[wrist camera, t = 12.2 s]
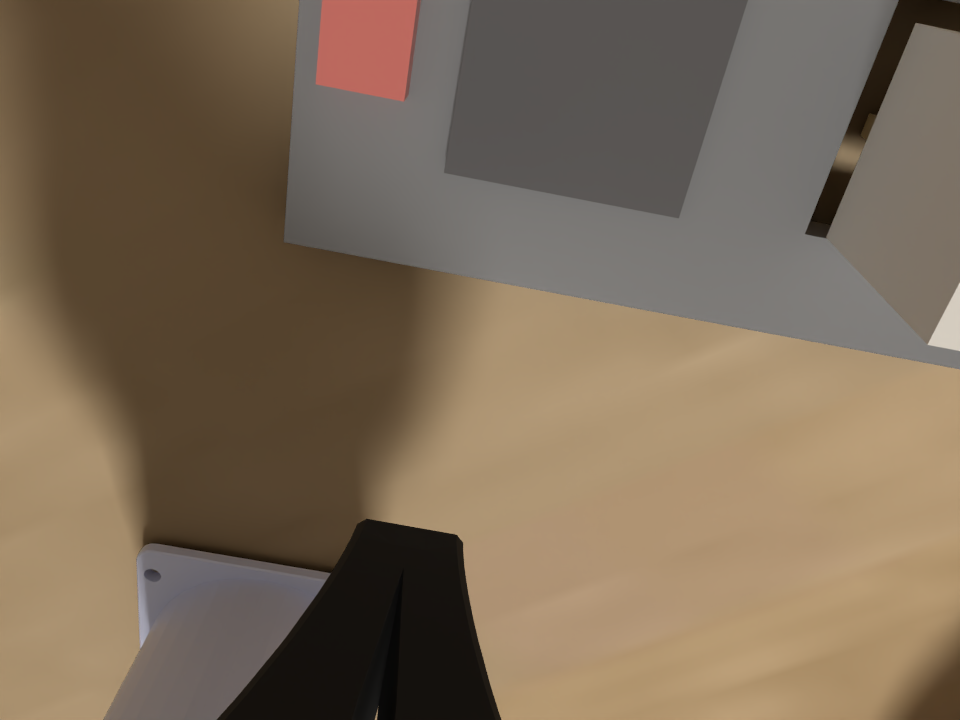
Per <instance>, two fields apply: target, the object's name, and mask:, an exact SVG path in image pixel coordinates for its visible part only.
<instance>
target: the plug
mask: <svg viewBox="0 0 960 720" xmlns="http://www.w3.org/2000/svg"><path fill="white" fill-rule="evenodd" d="M860 136H861V137H863V138H864V139H866V140H867V141H866V143H865V146H864V148H863V150H862V153H861V155H860V158H859V160H858V162H857V165H856V167H855V169H854V172H853V174H852V177H851V179H850V181H849V184H848V186H847V189H846V191H845V193H844V196H843V198H842V201H841V203H840V205H839V208H838V210H837V213H836V215H835V217H834V220H833V222H832V225H831V227H830V229H829V232H828V234H827V237H826V238H827V239H828V240H829V241H830V242H831V243H832V244H833V246H834V247H835V248H836V249H837V250H838V251H839V252H840V253H841V254H842V255H843V256H844V257H845V258H846V259H847V260H848V261H849V262H850V263H851V265H852V266H853V267H854V268H855V269H856V270H857V271H858V272H859V273H860V274H861V275H862V276H863V277H864V278H865V279H866V280H867V281H868V283H869V284H870V285H871V286H872V287H873V288H874V289H875V290H876V291H877V292H878V293H879V294H880V295H881V296H882V297H883V298H884V299H885V301H886V302H887V303H888V304H889V305H890V306H891V307H892V308H893V309H894V310H895V311H896V312H897V313H898V314H899V315H900V316H901V317H902V319H903V320H904V321H905V322H906V323H907V324H908V325H909V326H910V327H911V328H912V329H913V330H914V331H915V332H916V333H917V334H918V335H919V337H920V338H921V339H922V340H923V341H924V342H925V343H926V344H927V345H931V346H936V347H941V348H947V349H952V350H957V351H960V32H958V31H953V30H948V29H943V28H939V27H934V26H929V25H924V24H919V23H915V26H914V28H913V31H912V33H911V35H910V38H909V40H908V43H907V45H906V47H905V50H904V52H903V55H902V57H901V59H900V62H899V64H898V67H897V69H896V71H895V74H894V76H893V78H892V81H891V83H890V86H889V88H888V90H887V93H886V95H885V98H884V100H883V102H882V105H881V107H880V110H879V112H878V114H877V115H875V114H870V113H869V116H868V118H867V121H866V123H865V125H864V128H863V130H862V133H861V135H860Z"/></svg>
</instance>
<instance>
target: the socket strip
mask: <svg viewBox="0 0 960 720" xmlns="http://www.w3.org/2000/svg"><path fill="white" fill-rule="evenodd" d="M898 1H899V0H299V14H298V29H297V45H296V60H295V76H294V91H293V106H292V122H291V137H290V153H289V168H288V183H287V199H286V214H285V230H284V242H286V243H291V244H296V245H302V246H307V247H312V248H318V249H323V250H328V251H334V252H339V253H344V254H349V255H355V256H360V257H365V258H371V259H376V260H381V261H387V262H392V263H397V264H403V265H408V266H413V267H419V268H424V269H429V270H435V271H440V272H445V273H451V274H456V275H461V276H467V277H472V278H477V279H482V280H488V281H493V282H498V283H504V284H509V285H514V286H520V287H525V288H530V289H536V290H541V291H546V292H552V293H557V294H562V295H568V296H573V297H578V298H584V299H589V300H594V301H600V302H605V303H610V304H615V305H621V306H626V307H631V308H637V309H642V310H647V311H653V312H658V313H663V314H669V315H674V316H679V317H685V318H690V319H695V320H701V321H706V322H711V323H717V324H722V325H727V326H732V327H738V328H743V329H748V330H754V331H759V332H764V333H770V334H775V335H780V336H786V337H791V338H796V339H802V340H807V341H812V342H818V343H823V344H828V345H834V346H839V347H844V348H850V349H855V350H860V351H865V352H871V353H876V354H881V355H887V356H892V357H897V358H903V359H908V360H913V361H919V362H924V363H929V364H935V365H940V366H945V367H951V368H956V369H960V351H957V350H952V349H947V348H941V347H936V346H931V345H927V344H926V343H925V342H924V341H923V340H922V339H921V338H920V337H919V335H918V334H917V333H916V332H915V331H914V330H913V329H912V328H911V327H910V326H909V325H908V324H907V323H906V322H905V321H904V320H903V319H902V317H901V316H900V315H899V314H898V313H897V312H896V311H895V310H894V309H893V308H892V307H891V306H890V305H889V304H888V303H887V302H886V301H885V299H884V298H883V297H882V296H881V295H880V294H879V293H878V292H877V291H876V290H875V289H874V288H873V287H872V286H871V285H870V284H869V283H868V281H867V280H866V279H865V278H864V277H863V276H862V275H861V274H860V273H859V272H858V271H857V270H856V269H855V268H854V267H853V266H852V265H851V263H850V262H849V261H848V260H847V259H846V258H845V257H844V256H843V255H842V254H841V253H840V252H839V251H838V250H837V249H836V248H835V247H834V246H833V244H832V243H831V242H830V241H829V240H828V239H827V238H826V237H827V234H828V232H829V229H830V227H831V225H829V224H824V223H819V222H813V221H810V220H811V217H812V215H813V212H814V210H815V207H816V205H817V202H818V200H819V197H820V195H821V192H822V190H823V188H824V185H825V183H826V180H827V178H828V175H829V173H830V170H831V168H832V165H833V163H834V160H835V158H836V155H837V153H838V150H839V148H840V145H841V143H842V140H843V138H844V135H845V133H846V130H847V128H848V125H849V123H850V120H851V118H852V115H853V113H854V110H855V108H856V105H857V103H858V100H859V98H860V95H861V93H862V91H863V88H864V86H865V83H866V81H867V78H868V76H869V73H870V71H871V68H872V66H873V63H874V61H875V58H876V56H877V53H878V51H879V48H880V46H881V43H882V41H883V38H884V36H885V33H886V31H887V28H888V26H889V23H890V21H891V18H892V16H893V13H894V11H895V8H896V6H897V3H898ZM944 1H949V2H954V3H959V4H960V0H944Z"/></svg>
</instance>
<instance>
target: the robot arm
mask: <svg viewBox="0 0 960 720" xmlns="http://www.w3.org/2000/svg"><path fill="white" fill-rule="evenodd" d="M152 569H153V570H156V571H158V572H159V573H157V572H155V571H153V570H152ZM137 586H138V611H139V637H140V651H139V653H138V655H137V657H136V658H135V660H134V662H133V664H132V666H131V668H130V670H129V672H128V674H127V675H126V677H125V679H124V681H123V683H122V685H121V687H120V689H119V691H118V693H117V694H116V696H115V698H114V700H113V702H112V704H111V706H110V708H109V710H108V712H107V713H106V715H105V717H104V719H103V720H375V716H376V713H377V709H378V717H377V720H501V717H500V715H499V712H498V709H497V705H496V702H495V699H494V696H493V692H492V689H491V686H490V682H489V679H488V675H487V671H486V668H485V664H484V660H483V657H482V653H481V649H480V645H479V642H478V638H477V633H476V629H475V625H474V621H473V616H472V611H471V606H470V600H469V595H468V589H467V583H466V576H465V569H464V557H463V542H462V541H461V540H460V538H459V537H458V536H457V535H455V534H449V533H444V532H438V531H432V530H427V529H421V528H415V527H410V526H404V525H398V524H393V523H387V522H381V521H376V520H370V519H366V520H364V521H362V522H360V523H358V524H357V526H356V528H355V531H354V533H353V535H352V537H351V539H350V541H349V543H348V545H347V547H346V549H345V551H344V552H343V554H342V556H341V558H340V559H339V561H338V563H337V564H336V566H335V567H334V569H333V571H332V572H331V573H326V572H321V571H315V570H309V569H303V568H297V567H291V566H285V565H279V564H274V563H268V562H262V561H256V560H250V559H244V558H238V557H232V556H226V555H221V554H215V553H209V552H203V551H197V550H191V549H185V548H179V547H174V546H168V545H162V544H151V543H150V544H147V545H145V546H144V547H143V548H142V549H141V551H140V552H139V554H138V556H137ZM378 706H379V707H378Z"/></svg>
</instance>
